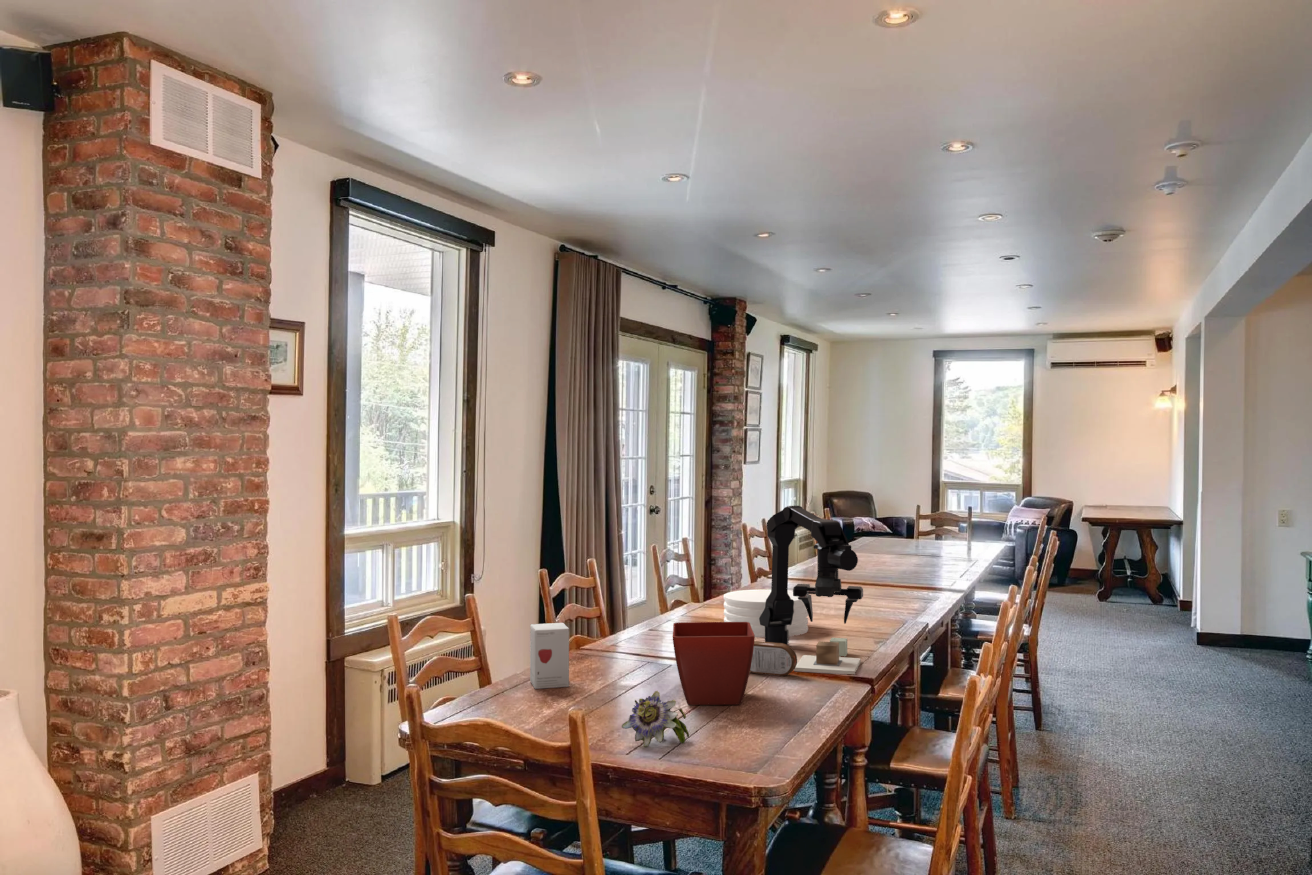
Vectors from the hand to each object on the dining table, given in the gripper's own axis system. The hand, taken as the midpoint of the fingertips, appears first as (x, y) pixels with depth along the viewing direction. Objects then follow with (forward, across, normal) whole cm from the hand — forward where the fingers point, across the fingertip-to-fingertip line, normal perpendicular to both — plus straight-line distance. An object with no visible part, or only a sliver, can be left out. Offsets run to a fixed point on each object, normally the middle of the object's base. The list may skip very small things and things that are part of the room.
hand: (828, 622), depth 257 cm
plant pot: (+12, -21, -43) cm, 50 cm away
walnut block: (+10, 0, -2) cm, 11 cm away
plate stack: (+13, -27, +47) cm, 56 cm away
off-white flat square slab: (+12, 0, -2) cm, 12 cm away
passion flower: (+12, -24, -78) cm, 83 cm away
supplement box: (+12, -66, -42) cm, 79 cm away
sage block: (+12, +1, +14) cm, 18 cm away
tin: (+12, -14, -15) cm, 24 cm away
